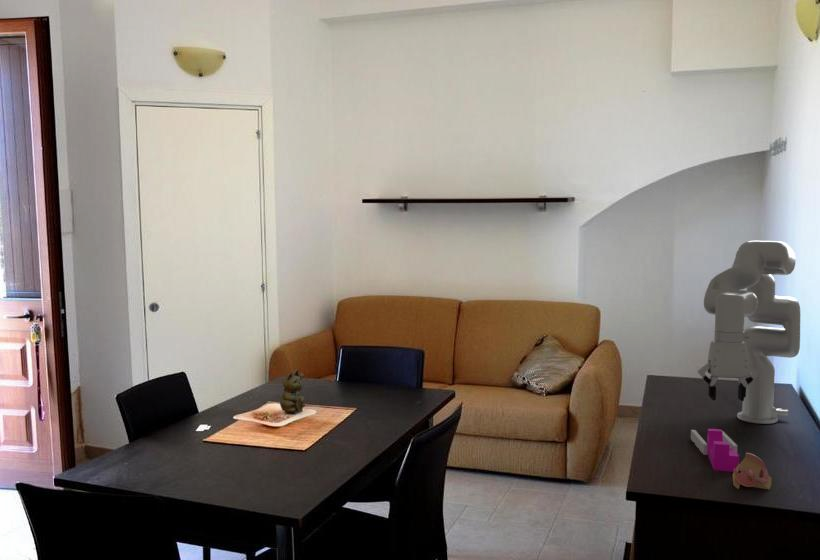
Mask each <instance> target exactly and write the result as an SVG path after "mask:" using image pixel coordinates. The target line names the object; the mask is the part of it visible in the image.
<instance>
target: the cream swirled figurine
mask: <svg viewBox="0 0 820 560" xmlns="http://www.w3.org/2000/svg"><path fill="white" fill-rule="evenodd" d="M732 483H733V486H734V487H735V488H736V489H738V490H739V489H740V487H741V486H744V487H747V488H748V487H749V488H750V487H751V488H752V487H754V488H758V489H764V490H765V489H766V490H770V489H771V487H772V477H771V476H770V475H769V471H768V469H767V467H766V464H765V462H764V461H763V460H762V459H761V458H760V457H759V456H757V455H755V454H754V453H750V452H745V455H744V458H743V460H742V461H741V462H740V461H739V465H738V466H737V467H736V469H734V472H733V473H732Z"/></svg>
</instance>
